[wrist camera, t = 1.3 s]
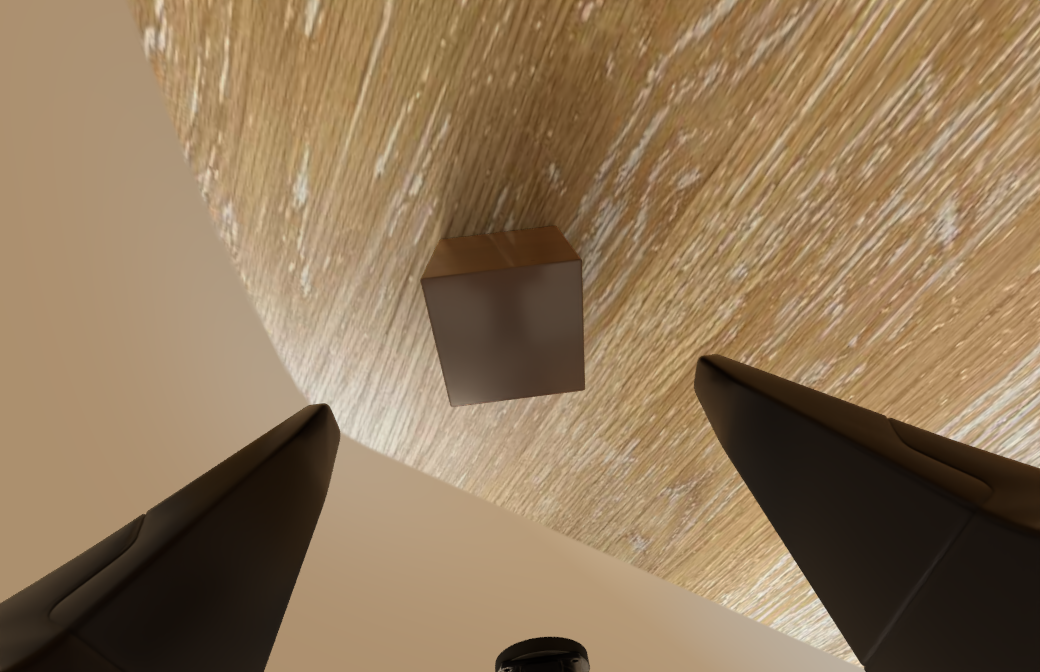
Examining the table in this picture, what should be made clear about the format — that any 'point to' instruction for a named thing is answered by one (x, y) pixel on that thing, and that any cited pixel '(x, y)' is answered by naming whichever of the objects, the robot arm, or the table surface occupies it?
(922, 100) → the table surface
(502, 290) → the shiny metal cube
